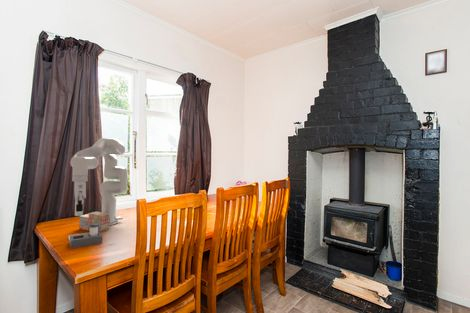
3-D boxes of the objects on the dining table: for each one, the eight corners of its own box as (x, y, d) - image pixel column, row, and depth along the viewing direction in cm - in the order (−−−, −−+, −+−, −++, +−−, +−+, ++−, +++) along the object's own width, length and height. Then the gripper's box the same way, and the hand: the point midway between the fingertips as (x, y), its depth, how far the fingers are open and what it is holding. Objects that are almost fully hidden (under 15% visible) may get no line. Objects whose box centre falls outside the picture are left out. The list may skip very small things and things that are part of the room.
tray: (88, 235, 158) (88, 232, 158) (90, 240, 151) (90, 236, 151) (68, 238, 151) (68, 235, 151) (69, 243, 144) (69, 240, 144)
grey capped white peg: (97, 239, 147) (97, 223, 147) (98, 242, 143) (98, 224, 143) (88, 241, 144) (89, 224, 144) (89, 243, 141) (90, 226, 141)
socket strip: (99, 240, 150) (99, 231, 150) (102, 245, 143) (102, 235, 143) (69, 245, 141) (69, 235, 141) (70, 250, 134) (71, 240, 133)
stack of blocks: (78, 229, 170) (79, 211, 170) (87, 227, 176) (87, 209, 176) (101, 234, 162) (101, 215, 162) (109, 231, 168) (109, 213, 168)
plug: (82, 213, 145) (83, 196, 145) (83, 215, 141) (84, 197, 141) (73, 214, 142) (74, 197, 142) (74, 216, 139) (75, 198, 139)
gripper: (89, 179, 137) (88, 212, 137) (86, 177, 151) (85, 207, 151) (73, 180, 133) (72, 214, 133) (71, 177, 146) (70, 208, 146)
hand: (79, 210), depth 142 cm, fingers closed on plug, 4 cm apart
